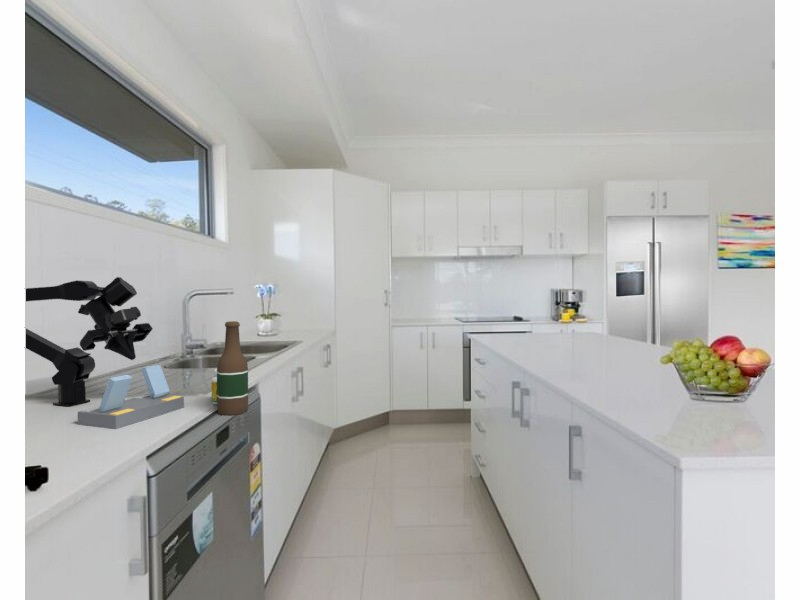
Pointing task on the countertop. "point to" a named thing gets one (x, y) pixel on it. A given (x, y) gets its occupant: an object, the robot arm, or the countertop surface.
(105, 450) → the countertop surface
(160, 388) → the panel
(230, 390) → the beer bottle
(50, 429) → the countertop surface
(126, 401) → the switch panel
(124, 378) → the upright blue panel
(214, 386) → the supplement bottle
